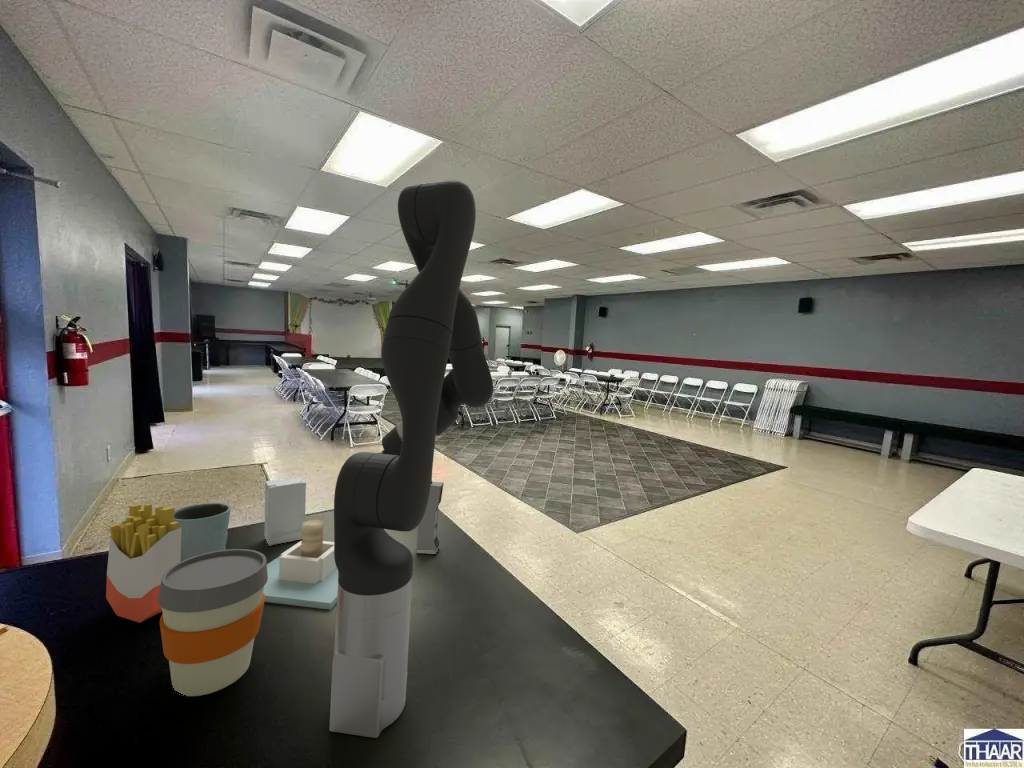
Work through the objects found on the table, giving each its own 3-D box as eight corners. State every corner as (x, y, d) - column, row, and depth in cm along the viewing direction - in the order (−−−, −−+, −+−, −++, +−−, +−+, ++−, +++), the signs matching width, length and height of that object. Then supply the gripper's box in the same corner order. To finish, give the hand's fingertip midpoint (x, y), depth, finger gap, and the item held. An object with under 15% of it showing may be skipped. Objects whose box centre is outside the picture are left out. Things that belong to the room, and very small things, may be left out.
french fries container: (149, 627, 67) (153, 518, 66) (102, 613, 70) (106, 508, 69) (178, 612, 71) (182, 509, 71) (133, 599, 74) (137, 500, 74)
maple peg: (314, 576, 84) (317, 527, 83) (295, 574, 84) (298, 525, 84) (325, 567, 88) (327, 520, 87) (307, 565, 88) (309, 518, 88)
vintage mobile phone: (437, 555, 99) (442, 451, 98) (416, 554, 99) (421, 450, 98) (440, 548, 103) (445, 448, 102) (419, 547, 103) (425, 447, 102)
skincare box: (299, 532, 107) (302, 475, 107) (305, 540, 102) (308, 481, 102) (262, 539, 102) (264, 479, 101) (266, 548, 97) (269, 485, 97)
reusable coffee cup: (246, 631, 67) (250, 541, 67) (278, 670, 60) (283, 568, 59) (144, 672, 58) (148, 566, 57) (167, 725, 50) (172, 603, 49)
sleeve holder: (330, 609, 75) (331, 578, 75) (227, 597, 77) (228, 567, 76) (376, 560, 95) (378, 535, 95) (294, 551, 97) (295, 527, 96)
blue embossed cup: (239, 558, 91) (241, 505, 91) (201, 581, 81) (203, 521, 81) (197, 554, 92) (199, 500, 92) (153, 576, 82) (156, 516, 82)
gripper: (411, 419, 90) (358, 467, 92) (385, 427, 76) (322, 484, 77) (433, 445, 90) (379, 492, 91) (411, 458, 76) (348, 514, 77)
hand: (353, 488), depth 84 cm, fingers open, 8 cm apart
